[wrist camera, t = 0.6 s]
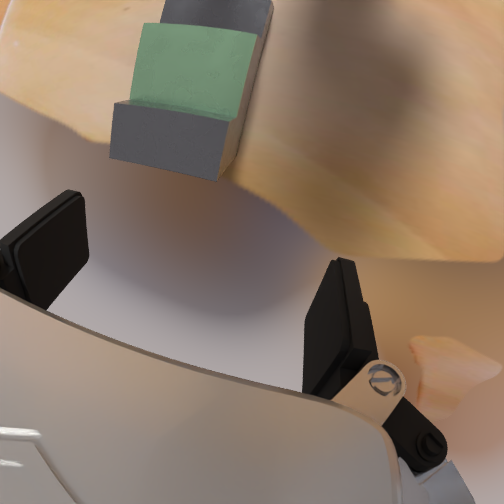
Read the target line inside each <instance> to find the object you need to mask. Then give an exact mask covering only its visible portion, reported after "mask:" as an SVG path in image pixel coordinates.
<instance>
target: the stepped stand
mask: <svg viewBox="0 0 504 504" xmlns="http://www.w3.org/2000/svg"><path fill="white" fill-rule="evenodd" d="M273 9H274V6H273V3H272V1H271V0H166V1H165V5H164V9H163V12H162V16H161V20H160V23H144V25H143V29H142V34H141V38H140V43H139V48H138V53H137V58H136V63H135V68H134V74H133V80H132V86H131V93H130V99H131V100H126V101H121V102H117V103H114V111H113V121H112V131H111V143H110V157H109V158H112V159H117V160H123V161H127V162H132V163H137V164H142V165H146V166H151V167H156V168H160V169H165V170H169V171H174V172H178V173H182V174H187V175H191V176H195V177H199V178H204V179H208V180H212V181H216V182H217V180H218V179H219V178H220V176H221V175H222V174H223V172H224V171H225V170H226V168H227V167H228V166H229V165H230V163H231V162H232V161H233V159H234V158H235V157H236V155H237V150H238V146H239V142H240V137H241V133H242V129H243V125H244V121H245V116H246V112H247V108H248V104H249V100H250V96H251V92H252V88H253V84H254V80H255V76H256V72H257V68H258V65H259V61H260V57H261V53H262V49H263V46H264V42H265V38H266V35H267V31H268V27H269V24H270V20H271V16H272V13H273Z"/></svg>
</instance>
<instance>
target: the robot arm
mask: <svg viewBox="0 0 504 504" xmlns="http://www.w3.org/2000/svg"><path fill="white" fill-rule="evenodd" d="M86 228H87V227H86V214H85V200H84V197H82V194H81V193H80V192H77V191H73V190H66V191H64V192H63V193H61V194H60V195H58V196H57V197H56V198H54V199H53V200H51V201H50V202H48V203H47V204H46V205H44V206H43V207H41V208H40V209H39V210H37V211H36V212H35V213H33V214H32V215H31V216H30V217H28V218H27V219H26V220H24V221H23V222H22V223H20V224H19V225H18V226H17V227H15V228H14V229H13V230H12V231H10V232H9V233H8V234H7V235H5V236H4V237H3V238H2V239H1V240H0V504H475V501H474V498H473V496H472V495H471V493H470V491H469V490H468V488H467V486H466V484H465V483H464V481H463V479H462V477H461V476H460V474H459V472H458V470H457V469H456V467H455V466H454V464H453V462H452V461H449V462H447V460H446V458H445V457H446V455H447V442H446V439H445V437H444V435H443V434H442V433H441V432H440V431H439V430H438V429H437V428H436V427H435V426H434V425H433V424H432V423H431V422H430V421H429V420H428V419H427V418H426V417H425V416H424V415H422V414H421V413H420V412H419V411H418V410H417V409H416V408H415V407H414V406H413V405H412V404H411V403H410V402H409V401H407V399H405V398H404V397H403V395H404V393H405V390H406V382H405V378H404V376H403V374H402V373H401V371H400V370H399V369H398V368H397V367H396V366H394V365H393V364H391V363H389V362H387V361H383V360H379V358H378V352H377V346H376V341H375V336H374V331H373V325H372V320H371V316H370V311H369V307H368V304H367V303H366V302H363V298H362V293H361V288H360V283H359V279H358V275H357V270H356V266H355V263H354V261H351V260H348V259H343V258H340V257H338V258H337V260H336V261H335V260H331V262H330V264H329V266H328V268H327V271H326V273H325V275H324V278H323V280H322V282H321V284H320V286H319V289H318V291H317V293H316V296H315V298H314V300H313V302H312V304H311V306H310V309H309V311H308V313H307V315H306V319H305V324H304V325H305V328H304V361H303V364H304V365H303V386H302V393H301V392H297V391H293V390H289V389H284V388H280V387H275V386H270V385H266V384H262V383H258V382H254V381H249V380H246V379H242V378H238V377H234V376H230V375H226V374H222V373H218V372H215V371H211V370H207V369H204V368H200V367H197V366H193V365H190V364H187V363H183V362H180V361H177V360H173V359H170V358H167V357H164V356H161V355H158V354H155V353H152V352H149V351H146V350H143V349H140V348H137V347H134V346H132V345H129V344H126V343H123V342H121V341H118V340H115V339H113V338H110V337H107V336H105V335H102V334H100V333H97V332H95V331H92V330H90V329H87V328H85V327H83V326H80V325H78V324H75V323H73V322H71V321H68V320H66V319H64V318H62V317H59V316H57V315H55V314H53V313H50V312H48V311H46V310H47V309H48V308H49V306H50V305H51V304H52V303H53V301H54V300H55V299H56V298H57V297H58V295H59V294H60V293H61V292H62V291H63V289H64V288H65V287H66V286H67V285H68V283H69V282H70V281H71V280H72V279H73V278H74V276H75V275H76V274H77V273H78V272H79V271H80V270H81V268H82V267H83V266H84V265H85V264H86V263H87V261H88V259H89V248H88V238H87V229H86Z"/></svg>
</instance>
